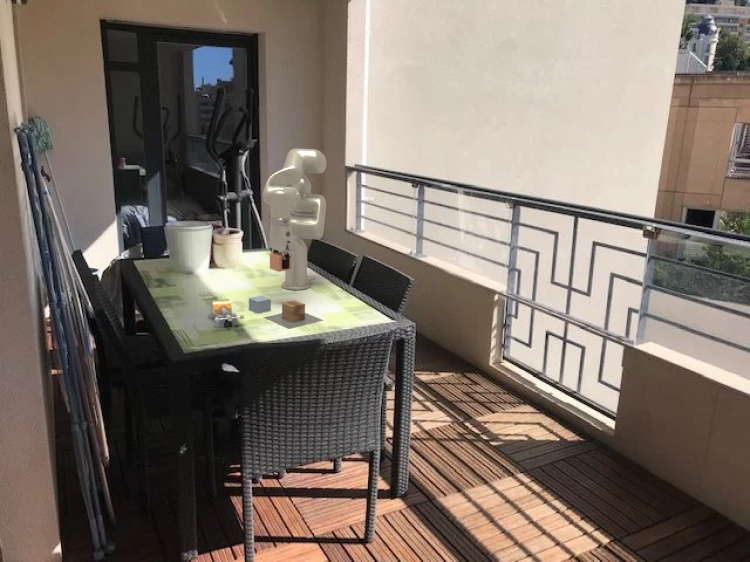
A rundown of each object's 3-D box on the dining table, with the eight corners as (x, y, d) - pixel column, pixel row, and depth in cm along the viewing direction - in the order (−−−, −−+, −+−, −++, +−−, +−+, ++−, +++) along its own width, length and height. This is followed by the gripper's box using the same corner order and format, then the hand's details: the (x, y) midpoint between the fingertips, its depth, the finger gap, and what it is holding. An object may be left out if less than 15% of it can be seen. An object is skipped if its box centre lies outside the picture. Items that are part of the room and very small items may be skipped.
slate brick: (261, 310, 244) (261, 295, 242) (270, 313, 240) (270, 299, 238) (248, 312, 240) (248, 298, 238) (257, 316, 236) (257, 301, 234)
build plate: (297, 312, 242) (297, 309, 242) (323, 323, 231) (323, 320, 231) (263, 320, 231) (263, 317, 231) (288, 332, 221) (288, 329, 220)
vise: (205, 316, 234) (205, 299, 232) (233, 313, 238) (232, 297, 236) (215, 331, 218) (215, 313, 216) (244, 328, 222) (244, 311, 221)
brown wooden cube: (294, 315, 235) (295, 300, 234) (304, 319, 231) (305, 304, 230) (282, 318, 231) (282, 302, 230) (291, 322, 227) (291, 306, 225)
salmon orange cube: (282, 266, 249) (282, 251, 247) (291, 269, 245) (291, 254, 243) (269, 268, 245) (269, 253, 243) (278, 271, 241) (278, 256, 239)
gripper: (302, 224, 236) (301, 270, 241) (275, 217, 248) (275, 260, 253) (286, 226, 231) (285, 273, 236) (259, 219, 243) (260, 263, 248)
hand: (280, 266), depth 245 cm, fingers closed on salmon orange cube, 6 cm apart
